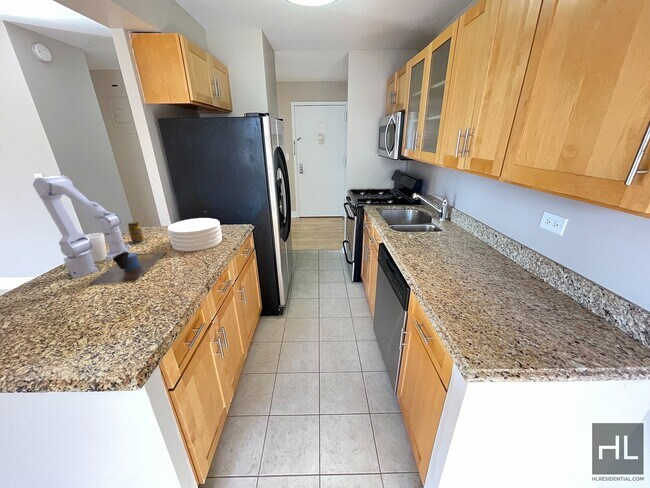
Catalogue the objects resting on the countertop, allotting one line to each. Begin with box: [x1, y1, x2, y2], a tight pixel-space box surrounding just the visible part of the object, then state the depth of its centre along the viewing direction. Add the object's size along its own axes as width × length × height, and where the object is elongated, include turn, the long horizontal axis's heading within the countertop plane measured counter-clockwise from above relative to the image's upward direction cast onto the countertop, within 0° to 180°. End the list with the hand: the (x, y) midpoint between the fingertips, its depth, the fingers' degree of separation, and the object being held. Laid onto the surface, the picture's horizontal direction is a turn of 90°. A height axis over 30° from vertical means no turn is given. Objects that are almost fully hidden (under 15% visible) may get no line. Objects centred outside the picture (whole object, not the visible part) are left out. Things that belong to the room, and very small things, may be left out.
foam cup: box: [85, 232, 108, 263], centre depth 133 cm, size 10×9×13 cm
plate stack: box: [167, 217, 223, 252], centre depth 156 cm, size 28×28×12 cm
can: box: [124, 252, 140, 270], centre depth 125 cm, size 7×7×6 cm
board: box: [89, 252, 167, 285], centre depth 127 cm, size 32×18×1 cm, turn 8°
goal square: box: [137, 254, 156, 262], centre depth 136 cm, size 9×9×1 cm
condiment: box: [127, 221, 146, 246], centre depth 157 cm, size 7×8×12 cm
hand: (123, 268), depth 121 cm, fingers closed
